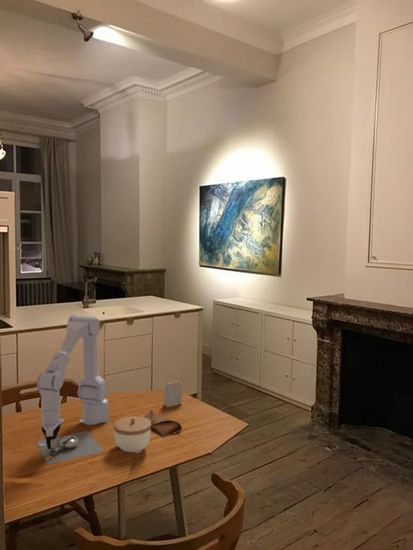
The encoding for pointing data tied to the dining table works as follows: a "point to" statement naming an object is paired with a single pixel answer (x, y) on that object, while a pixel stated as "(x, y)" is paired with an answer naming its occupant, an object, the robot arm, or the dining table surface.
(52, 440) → the grey piece
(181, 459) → the dining table surface
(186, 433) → the dining table surface
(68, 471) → the dining table surface
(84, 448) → the grey square mat
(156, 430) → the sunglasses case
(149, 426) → the lidded bowl
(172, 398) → the blue-gray rectangular block
